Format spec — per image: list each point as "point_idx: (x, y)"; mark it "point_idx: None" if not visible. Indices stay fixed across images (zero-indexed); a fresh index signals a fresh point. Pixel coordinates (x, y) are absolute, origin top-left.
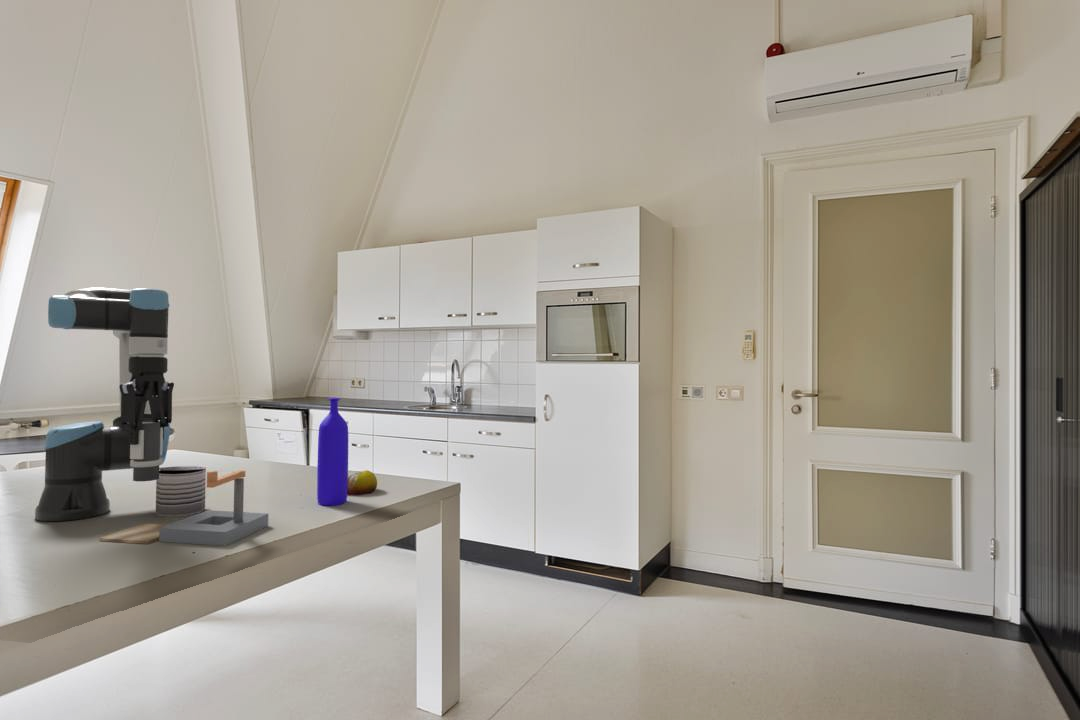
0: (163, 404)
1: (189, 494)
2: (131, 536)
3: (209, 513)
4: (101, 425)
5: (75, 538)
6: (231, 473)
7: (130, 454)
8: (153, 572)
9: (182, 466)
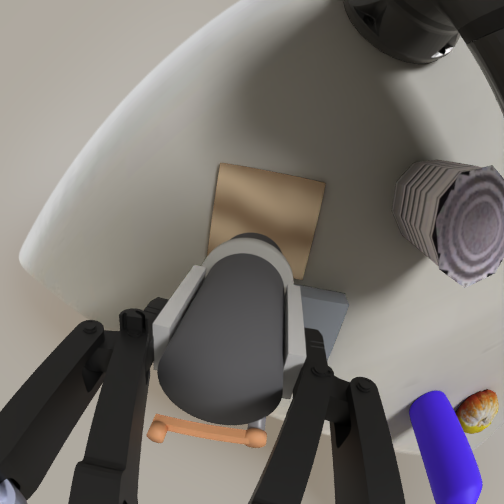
0: (350, 485)
1: (418, 247)
2: (231, 216)
3: (321, 317)
4: None
5: (235, 108)
6: (233, 437)
7: (190, 272)
8: (109, 321)
9: None
